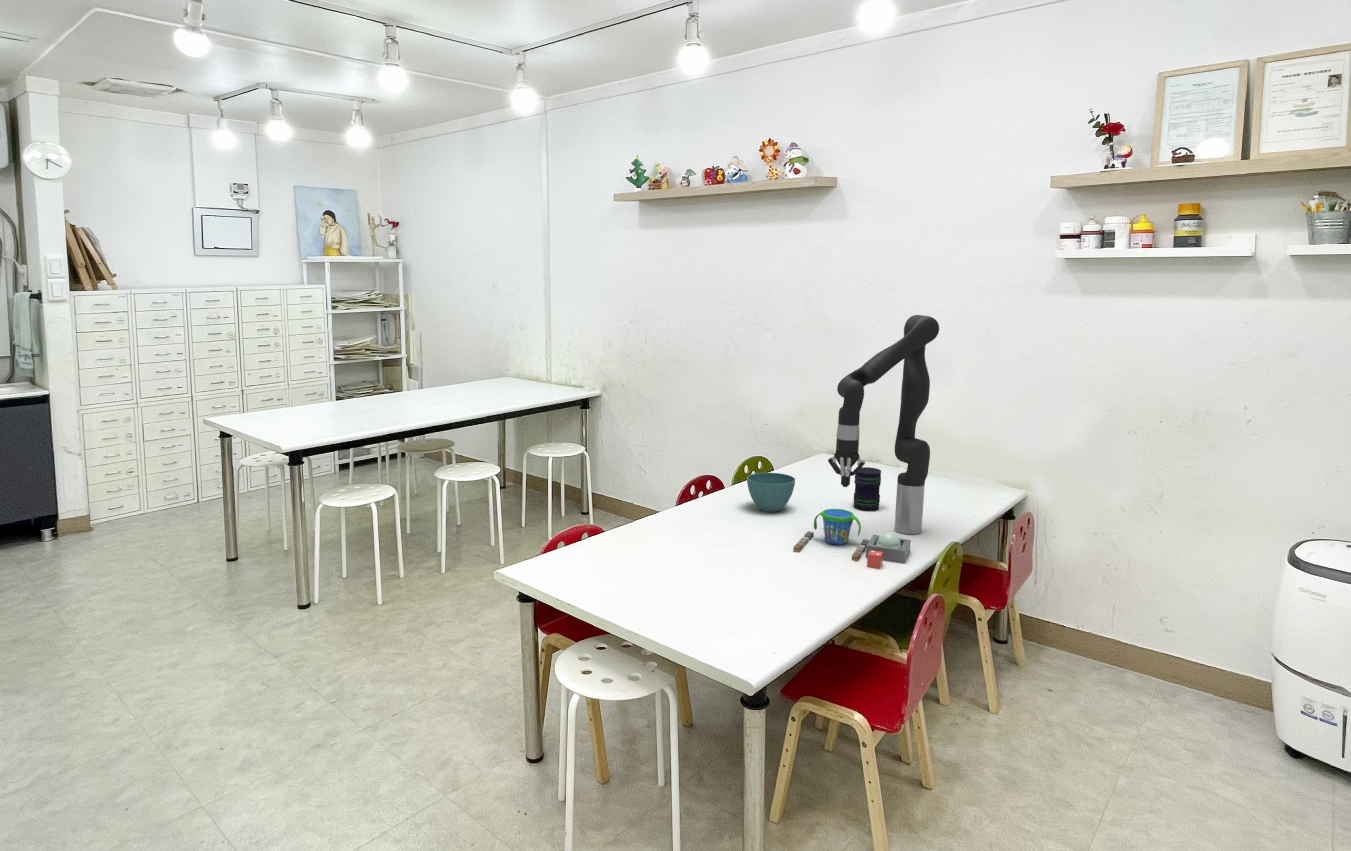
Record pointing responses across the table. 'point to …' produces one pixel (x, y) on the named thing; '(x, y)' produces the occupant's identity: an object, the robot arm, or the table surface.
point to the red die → (874, 559)
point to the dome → (889, 540)
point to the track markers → (809, 535)
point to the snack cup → (837, 525)
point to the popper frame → (890, 550)
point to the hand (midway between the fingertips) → (845, 486)
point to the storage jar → (867, 489)
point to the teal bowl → (770, 490)
